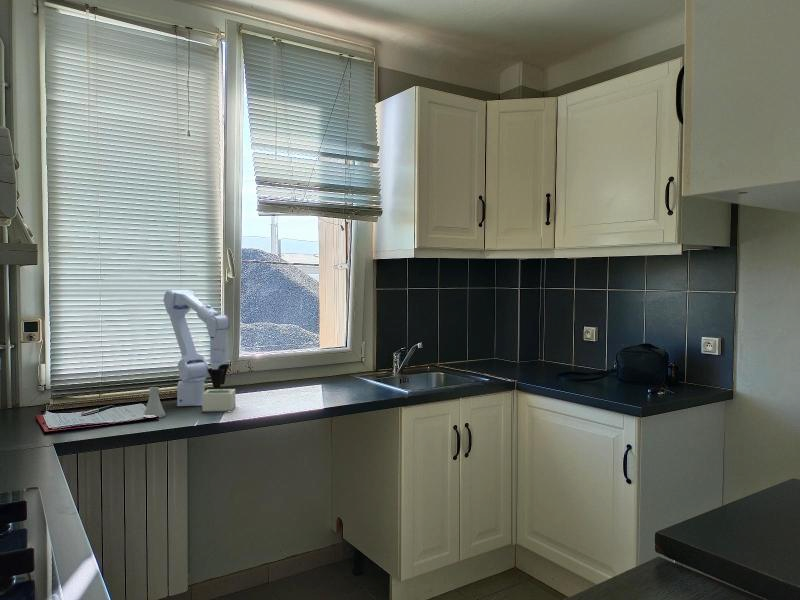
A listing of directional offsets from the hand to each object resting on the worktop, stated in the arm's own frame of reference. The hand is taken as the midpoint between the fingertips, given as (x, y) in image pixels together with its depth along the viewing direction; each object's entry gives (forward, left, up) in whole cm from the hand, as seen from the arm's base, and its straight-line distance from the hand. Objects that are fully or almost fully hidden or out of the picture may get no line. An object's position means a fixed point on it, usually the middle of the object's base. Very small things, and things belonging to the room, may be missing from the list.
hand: (219, 386), depth 216 cm
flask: (-20, -9, -9) cm, 24 cm away
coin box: (0, 0, -8) cm, 8 cm away
